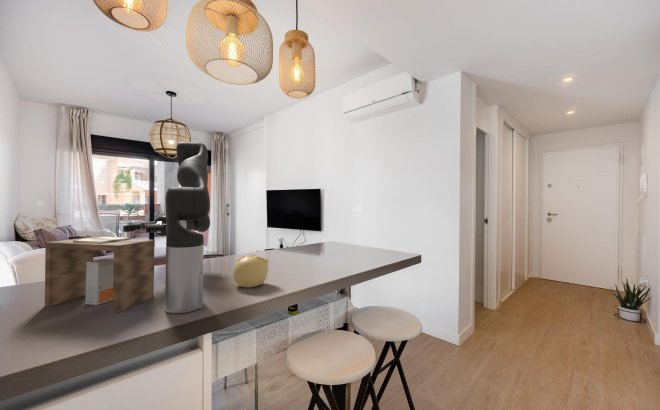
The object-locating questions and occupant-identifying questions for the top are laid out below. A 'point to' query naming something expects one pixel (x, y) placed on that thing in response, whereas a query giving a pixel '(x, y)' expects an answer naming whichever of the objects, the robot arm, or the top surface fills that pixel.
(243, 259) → the yellow rounded lump
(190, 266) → the robot arm
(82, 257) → the shelf nook
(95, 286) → the skincare box
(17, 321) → the top surface
